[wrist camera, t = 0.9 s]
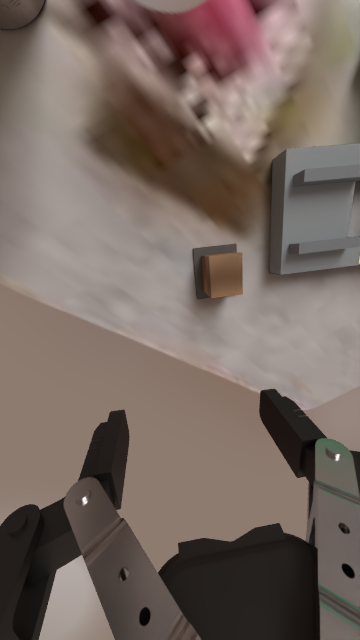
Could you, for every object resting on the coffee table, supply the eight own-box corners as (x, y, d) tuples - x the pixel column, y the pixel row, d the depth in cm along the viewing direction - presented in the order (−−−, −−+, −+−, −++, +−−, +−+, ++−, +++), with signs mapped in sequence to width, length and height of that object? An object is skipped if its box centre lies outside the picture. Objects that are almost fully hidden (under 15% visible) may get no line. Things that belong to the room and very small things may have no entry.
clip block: (201, 255, 29) (209, 256, 25) (229, 252, 30) (242, 252, 25) (203, 291, 31) (211, 298, 27) (230, 288, 31) (242, 294, 27)
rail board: (272, 159, 27) (304, 135, 21) (403, 148, 28) (465, 123, 22) (269, 272, 31) (294, 277, 26) (381, 258, 33) (429, 260, 27)
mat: (192, 248, 29) (193, 248, 29) (235, 243, 30) (236, 243, 29) (196, 298, 31) (197, 299, 31) (236, 293, 32) (237, 293, 32)
